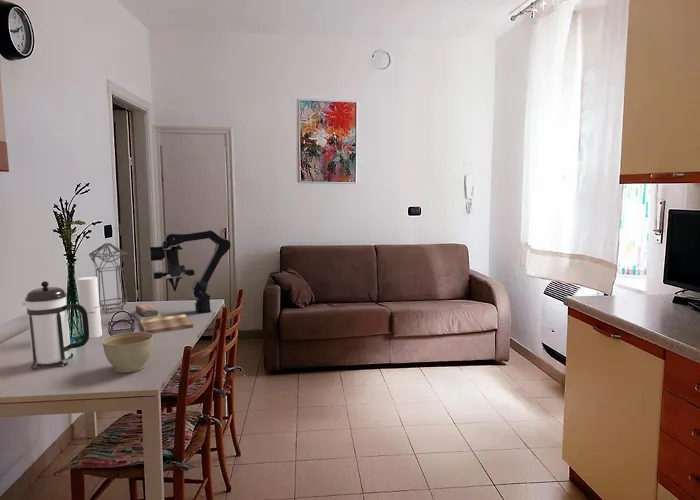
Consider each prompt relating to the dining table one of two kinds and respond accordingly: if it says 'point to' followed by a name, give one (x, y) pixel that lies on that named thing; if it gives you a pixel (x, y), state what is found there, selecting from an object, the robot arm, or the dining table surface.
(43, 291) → the coffee press
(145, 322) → the oak plank
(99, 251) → the geometric lantern
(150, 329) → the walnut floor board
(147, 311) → the packaged product
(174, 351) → the dining table surface
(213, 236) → the robot arm
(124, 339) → the planter bowl
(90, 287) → the cylindrical container
